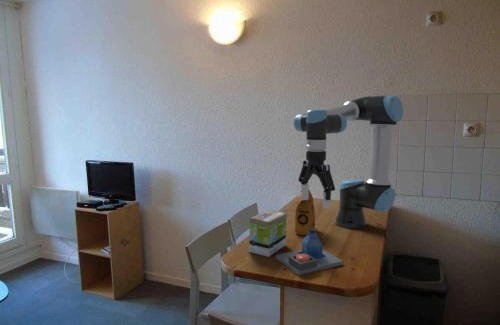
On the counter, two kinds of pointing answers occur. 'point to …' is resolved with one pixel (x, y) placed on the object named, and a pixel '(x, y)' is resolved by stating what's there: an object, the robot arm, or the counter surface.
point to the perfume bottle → (312, 244)
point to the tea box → (267, 232)
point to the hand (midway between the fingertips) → (315, 203)
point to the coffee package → (304, 215)
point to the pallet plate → (308, 262)
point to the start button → (302, 257)
